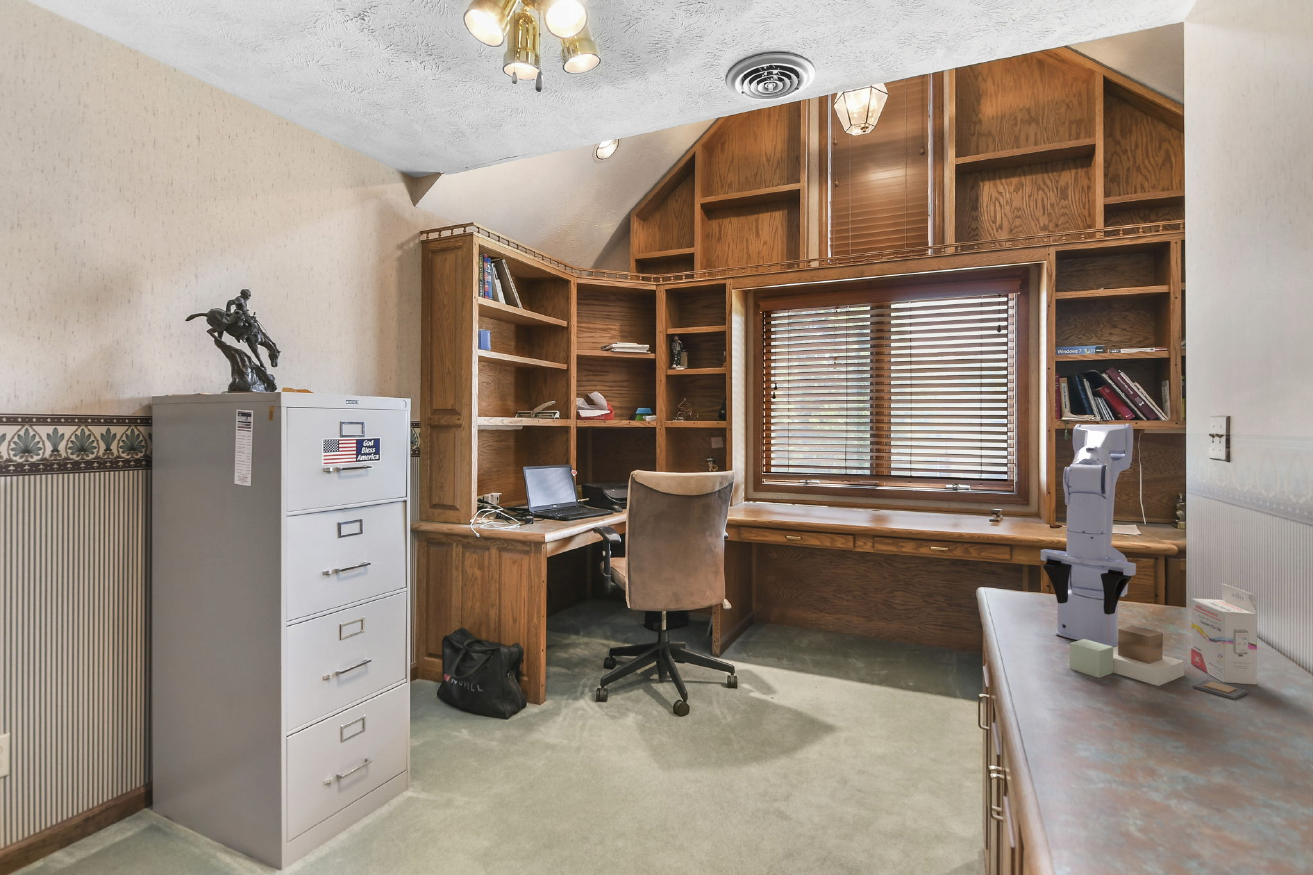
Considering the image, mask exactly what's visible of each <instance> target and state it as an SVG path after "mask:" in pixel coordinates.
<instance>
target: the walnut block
mask: <svg viewBox="0 0 1313 875" xmlns="http://www.w3.org/2000/svg"><path fill="white" fill-rule="evenodd" d="M1163 643H1164V633H1163V632H1160V631H1158V630H1153V629H1149V628H1147V627H1146V628H1145V627H1142V626H1137V625H1132V624H1131V625H1129V626H1124V627H1120V628H1118V645H1117V646H1118V655H1120V656H1123V657H1127V658H1130V659H1134V660H1137V661H1141V662H1144V663H1148V664H1150V663H1153V662H1156V661H1159V660H1162V658H1163V655H1164V654H1163V652H1164V651H1163V648H1164V647H1163V645H1164V644H1163Z"/></svg>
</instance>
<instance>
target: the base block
mask: <svg viewBox="0 0 1313 875" xmlns="http://www.w3.org/2000/svg"><path fill="white" fill-rule="evenodd" d="M1113 673H1114V674H1117V675H1120V676H1124V677H1128V678H1130V679H1133V680H1137V681H1140V682H1144V683H1147V684H1150V685H1154V686H1157V687H1159V686H1161V685H1164V684H1167V683H1170V682H1172V681H1174V680H1177V679H1178V678H1179V679H1180V678H1181V677H1184V676H1185V660H1182V659H1178V658H1175V657H1172V656H1171V657H1170V656H1166V655H1164V654H1163V658H1162V660H1159V661H1156V662H1153V663H1150V664H1148V663H1144V662H1141V661H1137V660H1134V659H1130V658H1127V657H1123V656H1120V655H1118V645H1117V646H1114V647H1113Z"/></svg>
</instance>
